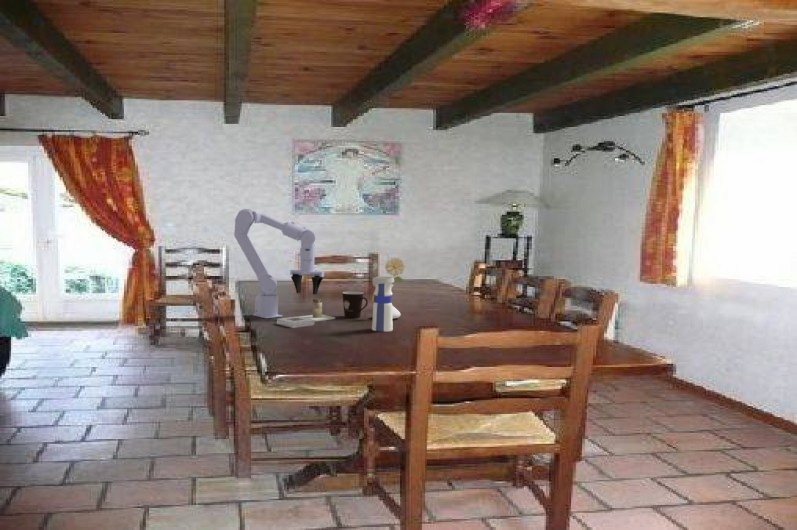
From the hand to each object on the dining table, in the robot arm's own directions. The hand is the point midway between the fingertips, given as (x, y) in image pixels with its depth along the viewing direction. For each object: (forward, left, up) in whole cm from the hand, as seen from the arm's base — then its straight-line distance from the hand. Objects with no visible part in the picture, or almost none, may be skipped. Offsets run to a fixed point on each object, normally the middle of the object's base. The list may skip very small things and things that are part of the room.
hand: (306, 293), depth 258 cm
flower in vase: (+23, +24, -10) cm, 35 cm away
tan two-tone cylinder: (+6, +1, -9) cm, 11 cm away
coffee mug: (+13, +14, -10) cm, 21 cm away
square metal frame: (+12, -14, -9) cm, 21 cm away
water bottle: (+39, +5, -10) cm, 40 cm away
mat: (+6, +1, -9) cm, 11 cm away
